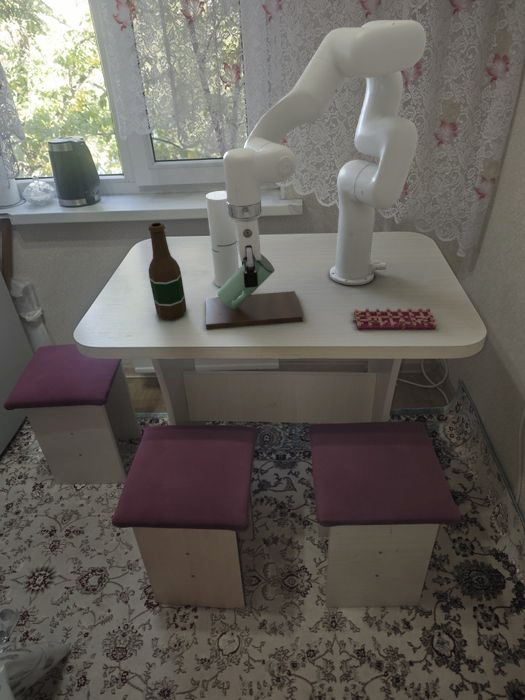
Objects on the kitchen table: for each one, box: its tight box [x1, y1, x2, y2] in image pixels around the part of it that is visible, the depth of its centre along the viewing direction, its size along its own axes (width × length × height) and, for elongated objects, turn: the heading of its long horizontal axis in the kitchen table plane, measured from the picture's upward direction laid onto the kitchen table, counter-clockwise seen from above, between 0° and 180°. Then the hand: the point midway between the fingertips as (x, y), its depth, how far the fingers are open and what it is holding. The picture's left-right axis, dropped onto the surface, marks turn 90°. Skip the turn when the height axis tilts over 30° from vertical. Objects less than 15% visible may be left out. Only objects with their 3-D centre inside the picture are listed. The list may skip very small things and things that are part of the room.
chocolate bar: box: [352, 307, 437, 331], centre depth 111 cm, size 7×19×2 cm, turn 87°
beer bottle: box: [147, 222, 187, 321], centre depth 111 cm, size 8×8×24 cm
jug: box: [216, 253, 276, 310], centre depth 112 cm, size 7×9×14 cm
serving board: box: [205, 290, 304, 330], centre depth 117 cm, size 24×13×2 cm, turn 95°
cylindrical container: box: [205, 190, 240, 288], centre depth 124 cm, size 7×7×25 cm
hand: (250, 278), depth 113 cm, fingers closed on jug, 6 cm apart
